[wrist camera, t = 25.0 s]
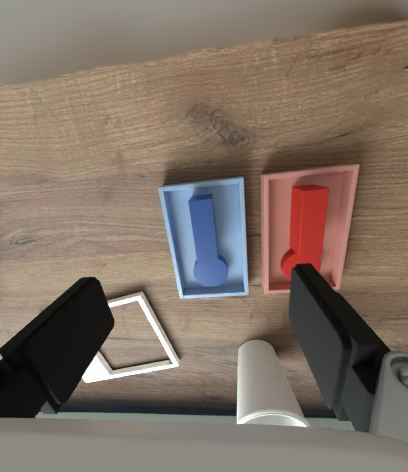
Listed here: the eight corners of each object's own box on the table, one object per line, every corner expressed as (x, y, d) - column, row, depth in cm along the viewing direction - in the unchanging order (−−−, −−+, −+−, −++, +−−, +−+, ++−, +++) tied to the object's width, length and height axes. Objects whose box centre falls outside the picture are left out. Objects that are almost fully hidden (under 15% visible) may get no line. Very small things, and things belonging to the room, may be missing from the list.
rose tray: (347, 163, 20) (360, 163, 18) (331, 280, 25) (340, 289, 23) (259, 173, 21) (263, 175, 19) (261, 285, 26) (264, 294, 24)
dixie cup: (275, 373, 32) (299, 460, 23) (226, 366, 32) (229, 449, 23) (289, 337, 29) (323, 419, 20) (234, 329, 29) (242, 407, 20)
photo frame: (36, 322, 30) (139, 296, 27) (42, 317, 31) (142, 291, 28) (85, 383, 34) (178, 367, 31) (89, 377, 35) (179, 360, 32)
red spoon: (281, 187, 21) (291, 191, 18) (324, 183, 21) (341, 186, 18) (279, 278, 25) (287, 293, 22) (315, 276, 25) (327, 291, 22)
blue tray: (241, 176, 21) (243, 177, 20) (246, 286, 26) (248, 294, 25) (162, 185, 22) (157, 187, 20) (182, 289, 27) (179, 298, 25)
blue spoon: (183, 197, 22) (178, 202, 19) (221, 192, 22) (222, 197, 19) (196, 282, 26) (194, 297, 23) (229, 280, 26) (230, 295, 23)
